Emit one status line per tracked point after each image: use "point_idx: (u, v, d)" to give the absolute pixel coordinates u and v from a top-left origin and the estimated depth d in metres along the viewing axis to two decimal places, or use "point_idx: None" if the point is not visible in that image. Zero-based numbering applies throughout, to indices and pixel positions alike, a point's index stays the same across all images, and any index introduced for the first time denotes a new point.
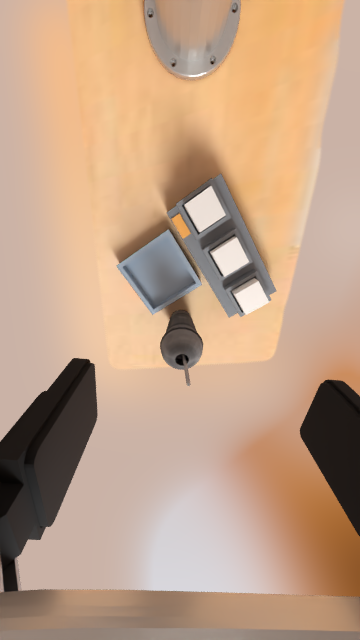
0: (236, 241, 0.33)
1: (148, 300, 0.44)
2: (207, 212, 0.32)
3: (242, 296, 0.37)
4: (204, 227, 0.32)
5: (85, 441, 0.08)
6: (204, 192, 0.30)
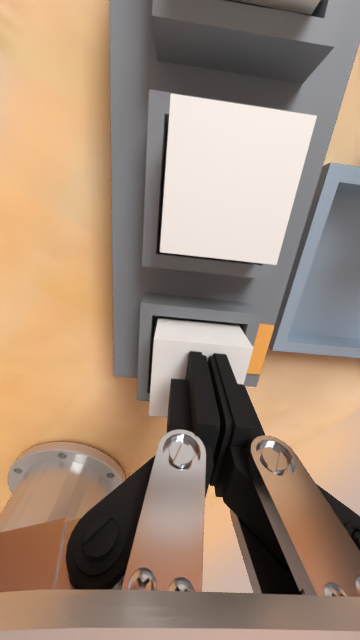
0: (170, 235, 0.08)
1: None
2: None
3: None
4: (231, 350, 0.10)
5: None
6: None
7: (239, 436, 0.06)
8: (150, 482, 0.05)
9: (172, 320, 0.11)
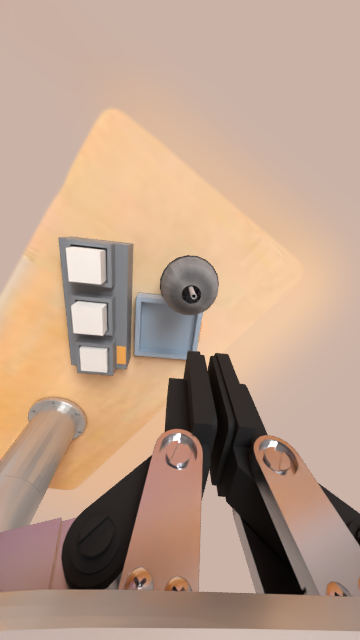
0: (75, 329, 0.33)
1: (197, 315, 0.39)
2: (92, 358, 0.36)
3: (93, 276, 0.30)
4: (100, 351, 0.36)
5: None
6: (88, 370, 0.37)
7: (242, 436, 0.06)
8: (147, 482, 0.05)
9: None
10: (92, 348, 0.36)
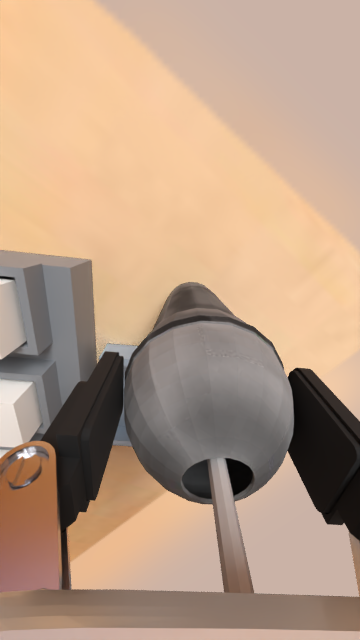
0: None
1: None
2: None
3: None
4: None
5: (115, 428, 0.09)
6: None
7: None
8: None
9: None
10: None
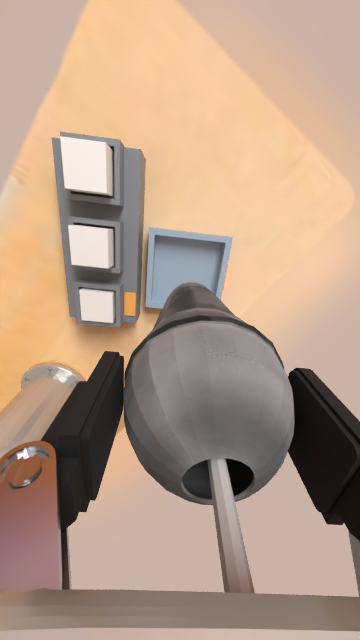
0: (73, 259, 0.26)
1: (222, 256, 0.32)
2: (95, 303, 0.30)
3: (96, 181, 0.23)
4: (105, 294, 0.29)
5: (115, 428, 0.09)
6: (90, 319, 0.31)
7: None
8: None
9: None
10: (95, 290, 0.29)
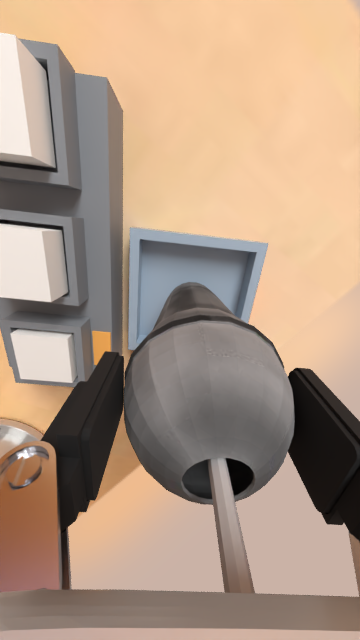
0: None
1: (248, 272, 0.20)
2: (40, 354, 0.18)
3: (8, 129, 0.11)
4: (56, 340, 0.17)
5: (115, 428, 0.09)
6: (34, 378, 0.19)
7: None
8: None
9: None
10: (39, 333, 0.17)
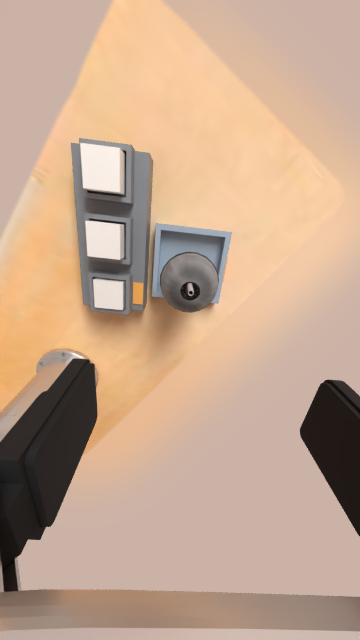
0: (89, 251, 0.29)
1: (222, 249, 0.35)
2: (107, 292, 0.33)
3: (111, 181, 0.26)
4: (116, 283, 0.32)
5: (85, 441, 0.08)
6: (102, 306, 0.34)
7: None
8: None
9: None
10: (107, 280, 0.32)
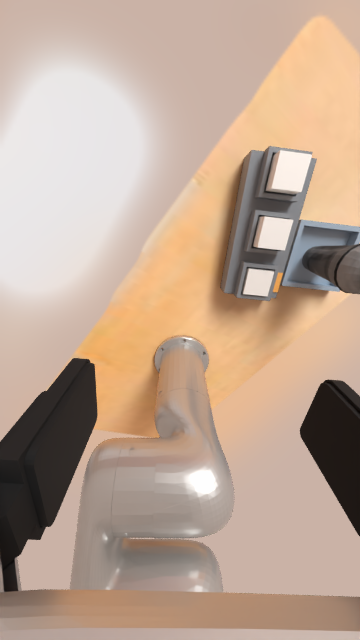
0: (260, 243, 0.33)
1: (350, 243, 0.40)
2: (258, 280, 0.37)
3: (297, 183, 0.30)
4: (268, 272, 0.37)
5: (85, 441, 0.08)
6: (250, 293, 0.38)
7: None
8: None
9: (249, 267, 0.39)
10: (259, 269, 0.37)
